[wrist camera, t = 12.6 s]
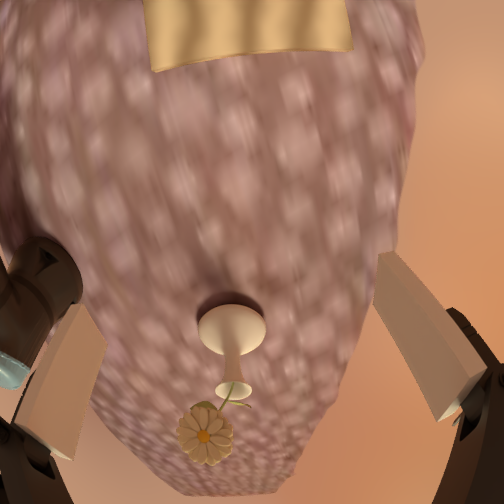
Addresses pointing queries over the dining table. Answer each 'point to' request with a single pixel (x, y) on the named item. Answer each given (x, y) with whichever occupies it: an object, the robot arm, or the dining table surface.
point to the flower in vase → (231, 387)
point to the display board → (241, 29)
